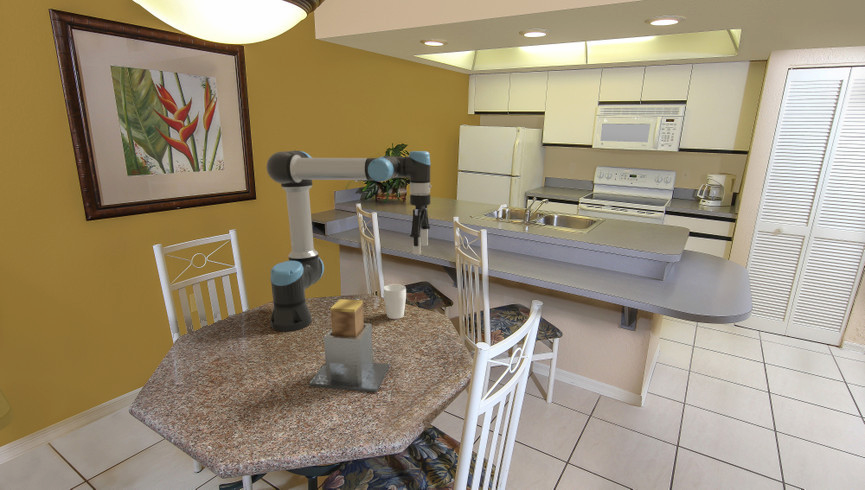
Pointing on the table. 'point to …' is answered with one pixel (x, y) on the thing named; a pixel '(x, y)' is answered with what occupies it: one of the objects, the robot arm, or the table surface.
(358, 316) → the block
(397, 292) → the cup
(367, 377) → the chute
